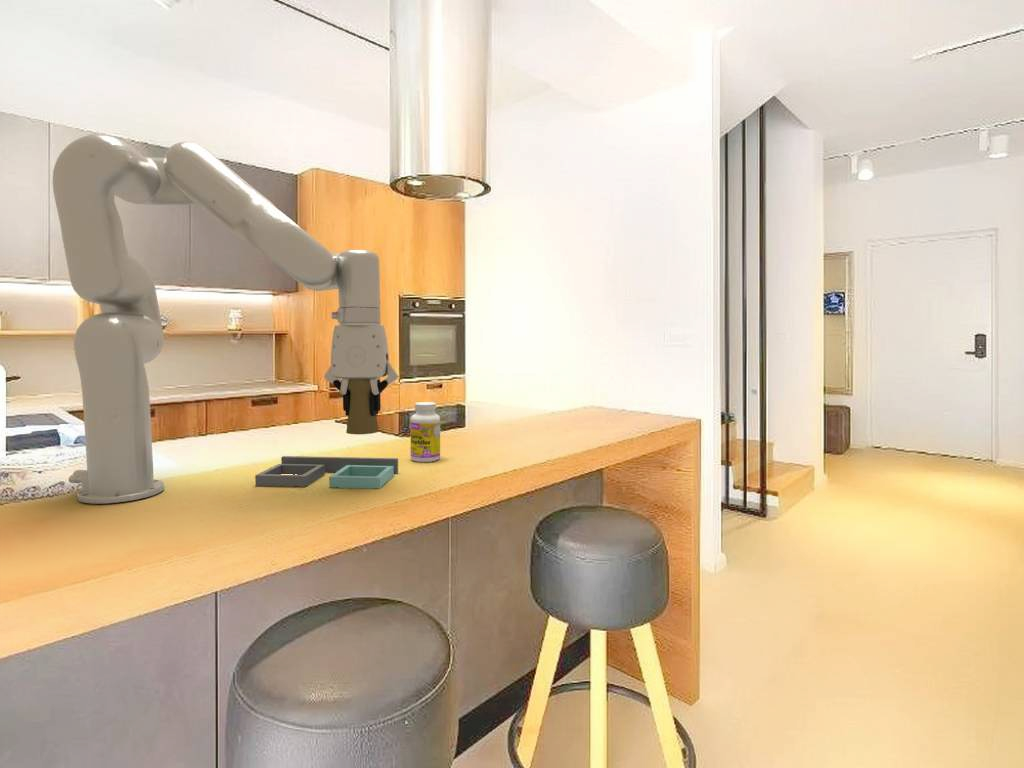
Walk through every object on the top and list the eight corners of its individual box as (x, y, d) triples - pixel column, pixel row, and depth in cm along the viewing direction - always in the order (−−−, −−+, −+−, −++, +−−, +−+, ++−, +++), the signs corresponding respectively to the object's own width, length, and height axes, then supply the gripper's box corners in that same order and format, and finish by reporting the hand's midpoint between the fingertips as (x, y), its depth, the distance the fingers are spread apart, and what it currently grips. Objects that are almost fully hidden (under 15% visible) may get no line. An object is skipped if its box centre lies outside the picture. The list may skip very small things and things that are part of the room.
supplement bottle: (404, 461, 128) (404, 404, 127) (420, 455, 134) (420, 400, 133) (431, 464, 126) (430, 405, 125) (445, 458, 132) (445, 402, 131)
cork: (370, 435, 106) (369, 375, 105) (340, 433, 108) (338, 375, 107) (384, 429, 112) (382, 373, 111) (355, 428, 113) (354, 372, 112)
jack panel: (254, 485, 107) (253, 470, 107) (283, 470, 119) (283, 456, 119) (381, 488, 106) (381, 472, 105) (398, 472, 118) (398, 458, 118)
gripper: (308, 317, 105) (311, 417, 106) (398, 317, 104) (400, 418, 105) (323, 318, 112) (326, 411, 114) (408, 318, 111) (410, 412, 113)
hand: (362, 413), depth 110 cm, fingers closed on cork, 4 cm apart
